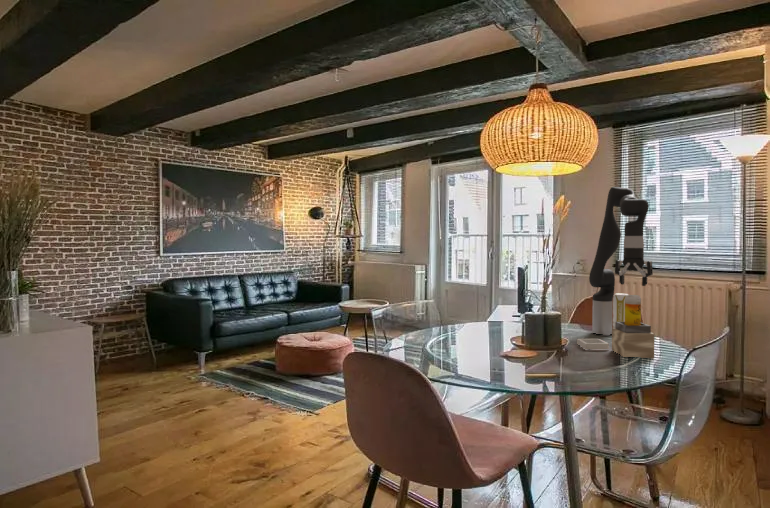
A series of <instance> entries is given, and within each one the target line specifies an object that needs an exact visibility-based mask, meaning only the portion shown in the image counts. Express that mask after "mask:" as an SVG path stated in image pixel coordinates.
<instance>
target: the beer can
mask: <svg viewBox="0 0 770 508" xmlns="http://www.w3.org/2000/svg"><path fill="white" fill-rule="evenodd" d="M641 316H642V298H641V295H637V294H628V295H626V297H625V325H627V326H641V323H642V322H641V321H642V320H641V319H642V318H641Z"/></svg>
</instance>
